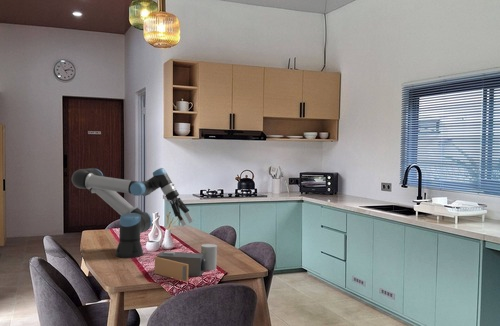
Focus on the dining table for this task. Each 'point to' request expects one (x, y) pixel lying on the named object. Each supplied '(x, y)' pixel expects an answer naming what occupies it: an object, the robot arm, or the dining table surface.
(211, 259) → the cup
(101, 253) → the dining table surface
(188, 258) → the camera body
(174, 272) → the side door
